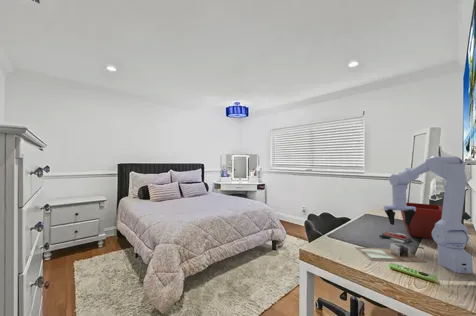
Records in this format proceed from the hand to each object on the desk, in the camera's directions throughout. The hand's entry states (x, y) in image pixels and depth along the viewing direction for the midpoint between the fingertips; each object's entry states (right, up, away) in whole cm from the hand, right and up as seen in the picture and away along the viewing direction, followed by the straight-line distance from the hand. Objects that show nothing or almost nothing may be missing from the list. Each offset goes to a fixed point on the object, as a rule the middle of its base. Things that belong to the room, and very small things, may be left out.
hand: (399, 224), depth 109 cm
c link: (-12, -8, -15) cm, 21 cm away
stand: (-17, -9, -15) cm, 25 cm away
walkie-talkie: (+2, -11, +2) cm, 11 cm away
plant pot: (+23, -11, +13) cm, 29 cm away
